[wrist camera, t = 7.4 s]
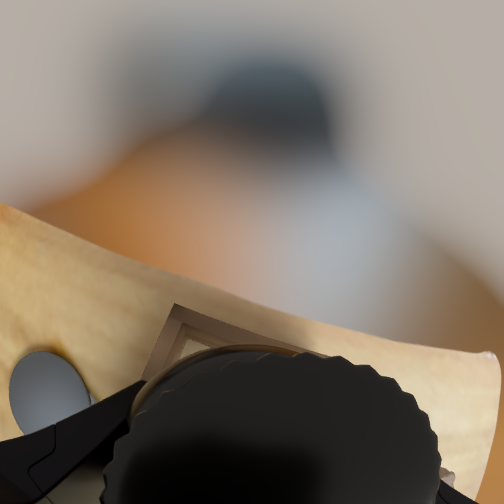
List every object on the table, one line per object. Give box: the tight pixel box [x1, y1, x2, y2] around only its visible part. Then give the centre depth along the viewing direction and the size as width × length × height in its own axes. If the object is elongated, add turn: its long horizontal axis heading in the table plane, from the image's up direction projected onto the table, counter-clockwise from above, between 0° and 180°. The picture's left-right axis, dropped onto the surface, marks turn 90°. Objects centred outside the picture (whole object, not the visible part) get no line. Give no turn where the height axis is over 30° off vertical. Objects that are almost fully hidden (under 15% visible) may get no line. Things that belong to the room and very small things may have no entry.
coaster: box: [9, 352, 91, 435], centre depth 15 cm, size 9×9×1 cm
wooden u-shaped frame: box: [141, 303, 330, 381], centre depth 16 cm, size 12×12×4 cm
